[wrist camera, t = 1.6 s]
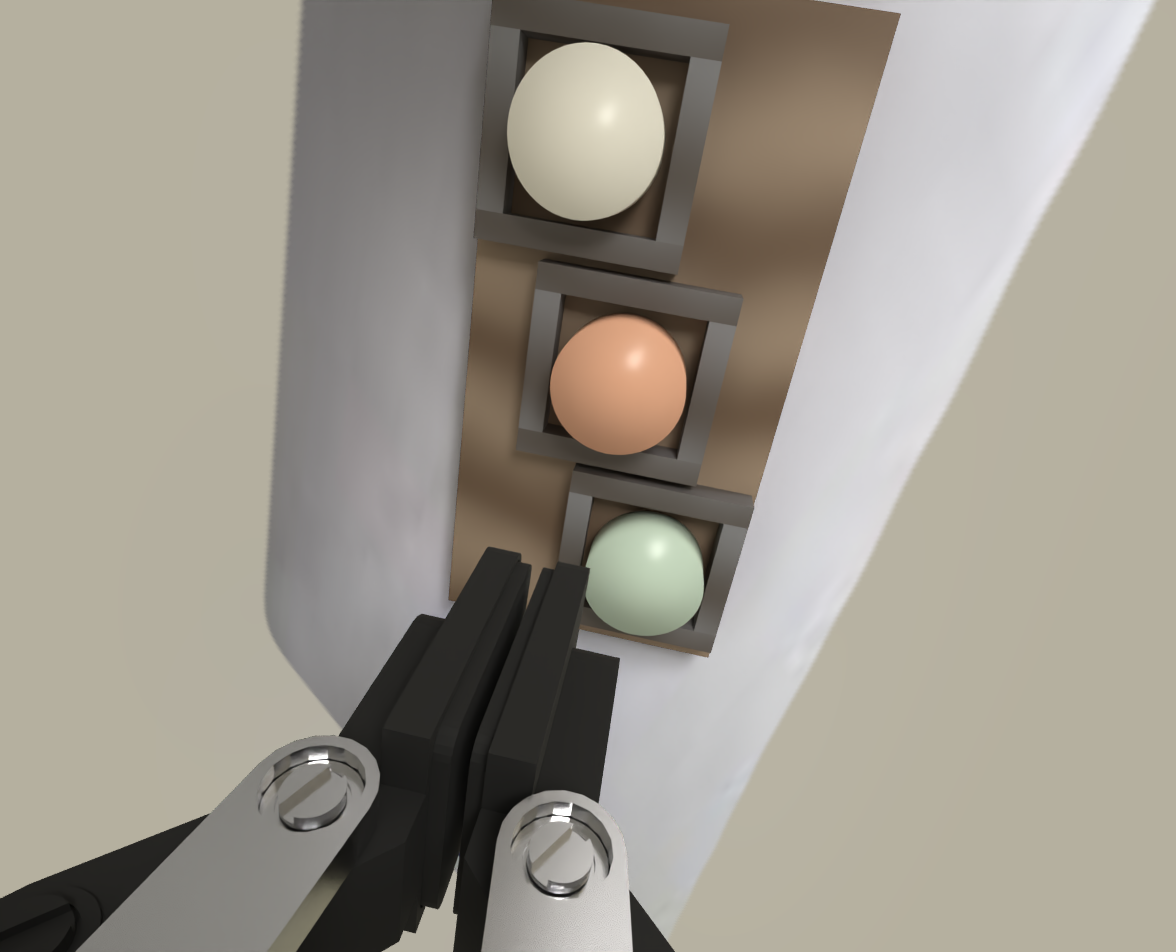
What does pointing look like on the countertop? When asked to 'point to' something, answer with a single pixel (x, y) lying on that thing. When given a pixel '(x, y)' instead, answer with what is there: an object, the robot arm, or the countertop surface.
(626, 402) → the terracotta button
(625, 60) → the cream button
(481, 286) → the button panel
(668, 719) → the countertop surface
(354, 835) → the robot arm
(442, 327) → the countertop surface
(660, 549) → the sage button
